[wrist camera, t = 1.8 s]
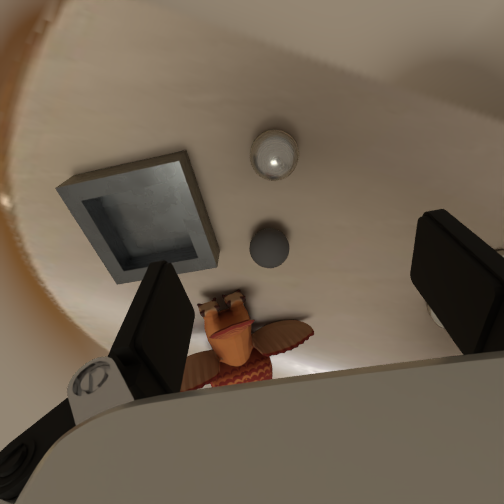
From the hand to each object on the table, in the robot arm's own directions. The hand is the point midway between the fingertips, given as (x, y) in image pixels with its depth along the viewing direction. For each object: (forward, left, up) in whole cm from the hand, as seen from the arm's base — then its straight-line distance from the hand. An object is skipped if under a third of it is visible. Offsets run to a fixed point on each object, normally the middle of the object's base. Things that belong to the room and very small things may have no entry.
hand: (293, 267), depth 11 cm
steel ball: (0, 0, -15) cm, 15 cm away
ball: (+2, +9, -15) cm, 18 cm away
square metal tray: (+13, +4, -17) cm, 22 cm away
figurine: (+8, +22, -17) cm, 29 cm away
